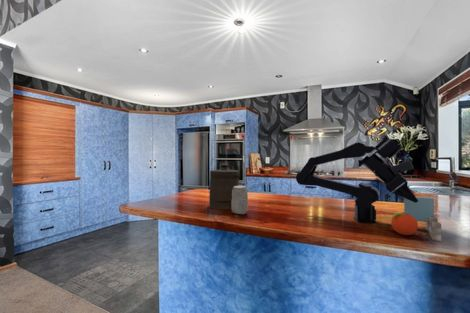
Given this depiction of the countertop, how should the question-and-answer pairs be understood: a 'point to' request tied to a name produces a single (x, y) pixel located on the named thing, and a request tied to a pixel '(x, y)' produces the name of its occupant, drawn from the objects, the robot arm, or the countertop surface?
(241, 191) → the carving
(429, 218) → the birch slotted plate
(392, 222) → the clementine
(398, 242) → the countertop surface
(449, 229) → the countertop surface
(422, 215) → the teal slotted plate
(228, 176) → the wooden container
